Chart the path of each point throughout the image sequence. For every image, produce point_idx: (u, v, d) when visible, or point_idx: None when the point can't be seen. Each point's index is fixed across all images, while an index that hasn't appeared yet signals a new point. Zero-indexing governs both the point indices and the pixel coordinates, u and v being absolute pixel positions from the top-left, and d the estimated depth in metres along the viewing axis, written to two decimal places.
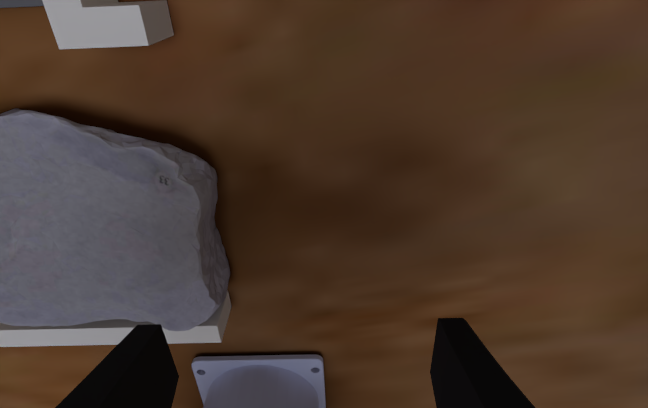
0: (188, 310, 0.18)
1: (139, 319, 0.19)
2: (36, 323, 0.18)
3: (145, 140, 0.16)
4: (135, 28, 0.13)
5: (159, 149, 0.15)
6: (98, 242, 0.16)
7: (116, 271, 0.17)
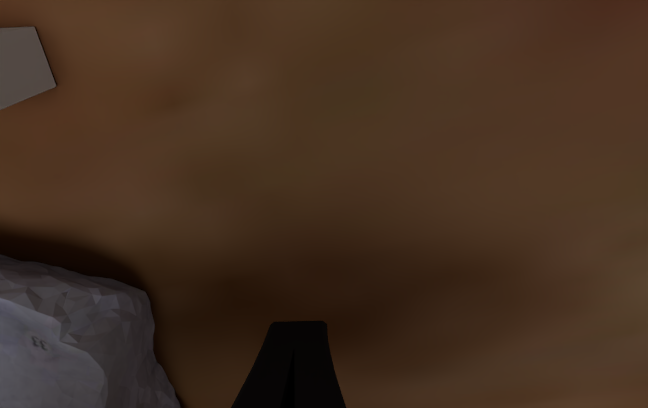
0: None
1: None
2: None
3: (5, 276, 0.09)
4: None
5: (23, 296, 0.09)
6: None
7: None
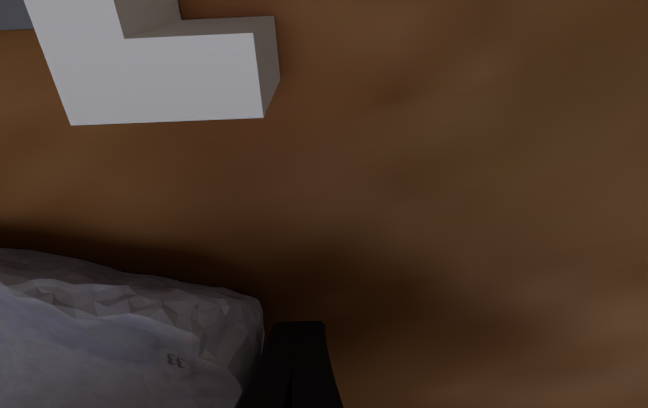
0: None
1: None
2: None
3: (136, 291, 0.09)
4: (240, 82, 0.06)
5: (161, 312, 0.08)
6: None
7: None
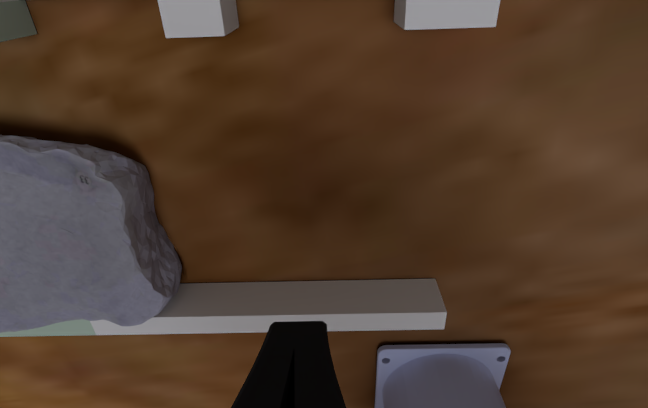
0: (136, 304, 0.19)
1: (94, 318, 0.20)
2: None
3: (62, 142, 0.16)
4: (490, 8, 0.13)
5: (73, 149, 0.16)
6: (35, 246, 0.17)
7: (59, 273, 0.18)
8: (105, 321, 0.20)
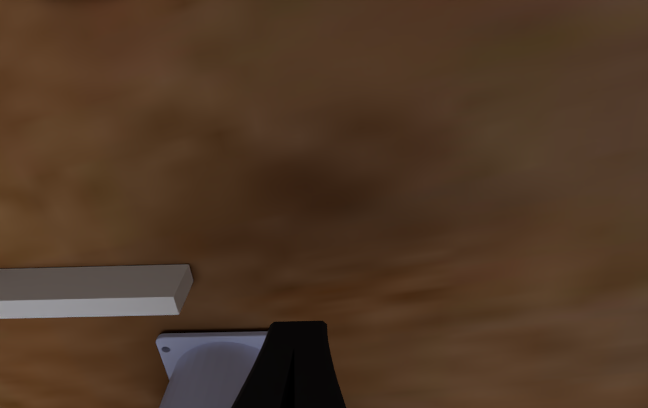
0: None
1: None
2: None
3: None
4: None
5: None
6: None
7: None
8: None
